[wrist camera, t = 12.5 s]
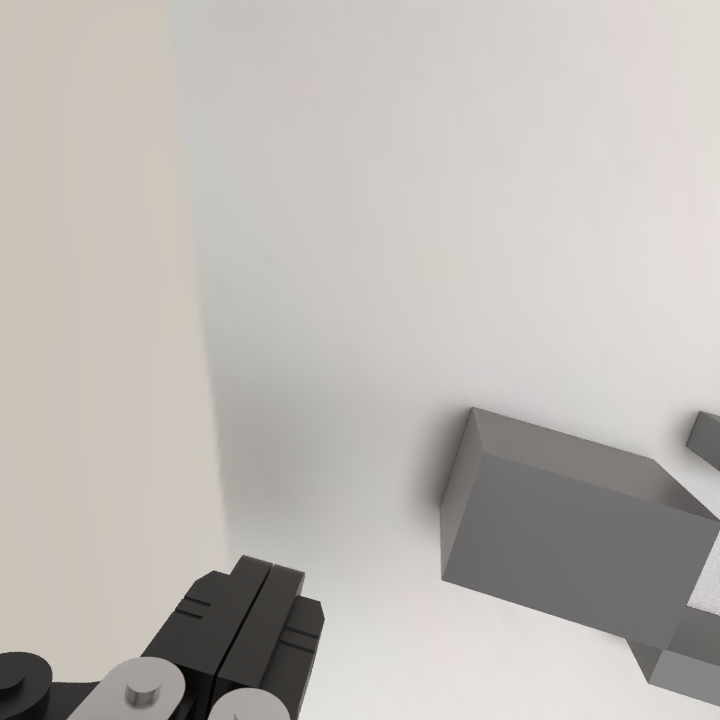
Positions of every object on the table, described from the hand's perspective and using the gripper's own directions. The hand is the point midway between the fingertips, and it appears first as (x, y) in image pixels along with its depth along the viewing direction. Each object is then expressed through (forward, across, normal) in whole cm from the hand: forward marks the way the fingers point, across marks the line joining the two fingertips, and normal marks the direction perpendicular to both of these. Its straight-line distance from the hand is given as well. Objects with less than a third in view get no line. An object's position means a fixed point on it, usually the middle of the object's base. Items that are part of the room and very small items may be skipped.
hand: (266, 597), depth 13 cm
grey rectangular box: (+13, -9, 0) cm, 16 cm away
